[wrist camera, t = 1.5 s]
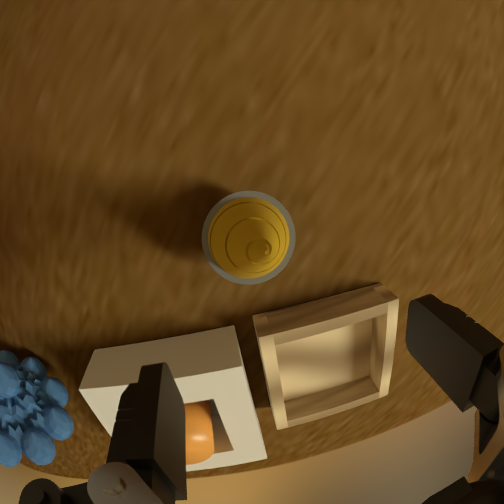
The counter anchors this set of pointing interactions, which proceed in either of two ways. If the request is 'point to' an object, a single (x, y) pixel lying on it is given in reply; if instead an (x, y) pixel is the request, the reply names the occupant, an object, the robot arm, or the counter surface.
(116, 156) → the counter surface
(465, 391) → the robot arm
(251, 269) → the drill bit
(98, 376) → the frame
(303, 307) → the tray
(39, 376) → the grapes
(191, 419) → the button
